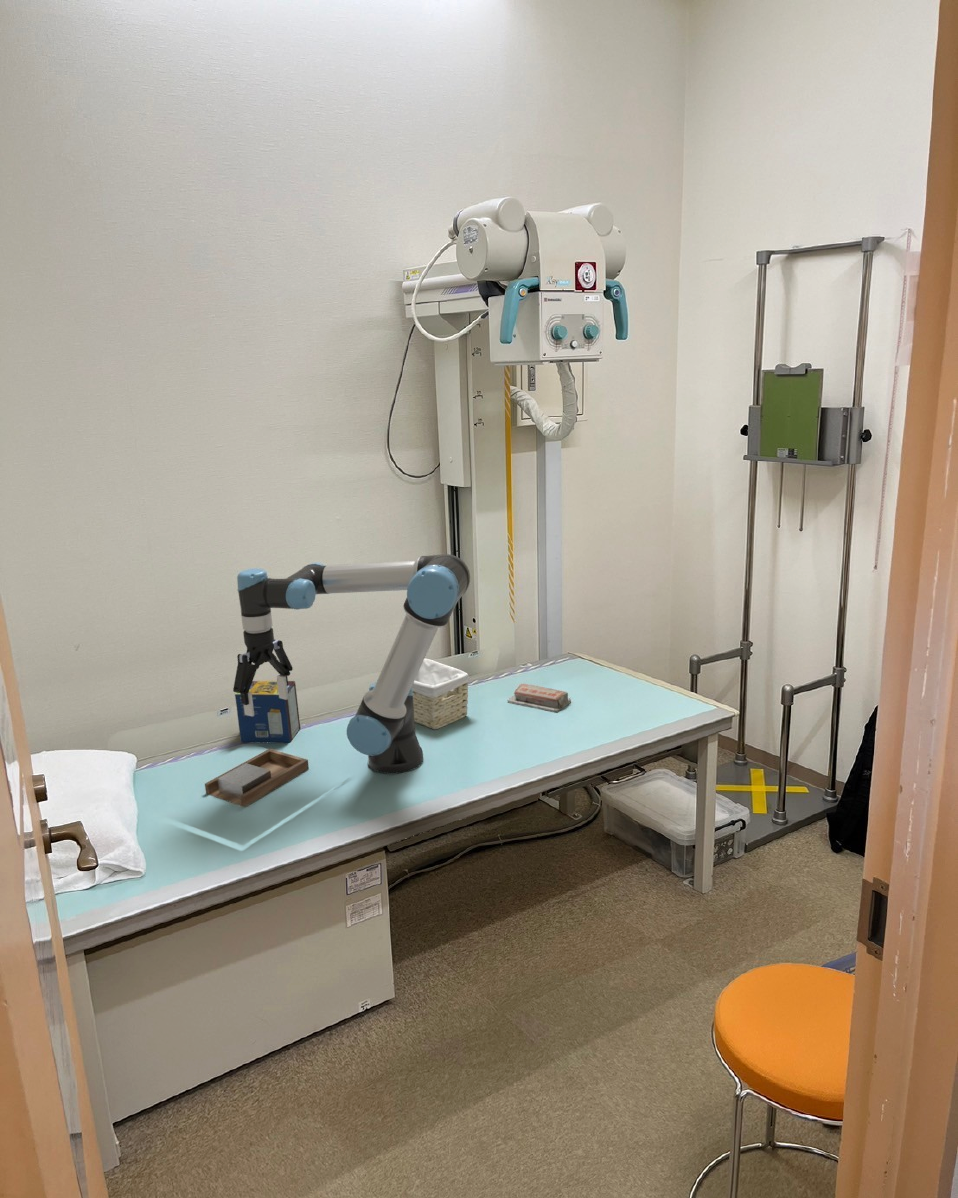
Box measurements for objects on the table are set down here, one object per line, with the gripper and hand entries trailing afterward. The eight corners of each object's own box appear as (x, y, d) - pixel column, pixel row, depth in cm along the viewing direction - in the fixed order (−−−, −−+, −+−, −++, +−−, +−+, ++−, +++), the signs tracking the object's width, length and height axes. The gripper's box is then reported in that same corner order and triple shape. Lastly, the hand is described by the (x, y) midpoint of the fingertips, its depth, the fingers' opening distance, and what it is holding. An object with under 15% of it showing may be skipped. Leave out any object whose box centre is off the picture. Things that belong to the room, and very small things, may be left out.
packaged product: (572, 688, 288) (557, 699, 280) (572, 703, 289) (557, 714, 281) (522, 679, 297) (506, 689, 289) (522, 693, 299) (506, 703, 291)
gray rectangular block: (271, 784, 241) (270, 770, 240) (243, 800, 233) (241, 786, 232) (247, 776, 246) (245, 763, 245) (219, 792, 238) (217, 778, 237)
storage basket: (473, 716, 281) (471, 671, 277) (434, 734, 270) (431, 687, 266) (421, 697, 297) (418, 654, 293) (382, 713, 286) (379, 669, 282)
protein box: (251, 728, 279) (246, 680, 275) (301, 728, 278) (296, 680, 273) (239, 743, 269) (233, 694, 265) (290, 743, 268) (285, 694, 263)
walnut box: (309, 773, 249) (307, 759, 248) (245, 811, 230) (244, 796, 229) (270, 761, 257) (269, 748, 255) (206, 797, 238) (204, 783, 237)
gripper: (280, 614, 248) (288, 688, 254) (211, 640, 229) (222, 720, 235) (301, 617, 244) (308, 693, 250) (232, 644, 225) (243, 726, 231)
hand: (267, 706), depth 243 cm, fingers open, 12 cm apart
